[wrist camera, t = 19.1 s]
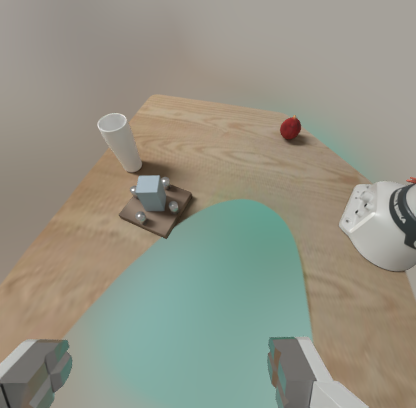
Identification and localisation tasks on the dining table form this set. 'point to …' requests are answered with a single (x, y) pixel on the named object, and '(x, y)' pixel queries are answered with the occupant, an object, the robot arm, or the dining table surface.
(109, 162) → the dining table surface
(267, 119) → the dining table surface
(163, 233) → the peg board
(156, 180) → the block
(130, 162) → the drinking glass
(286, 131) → the onion
